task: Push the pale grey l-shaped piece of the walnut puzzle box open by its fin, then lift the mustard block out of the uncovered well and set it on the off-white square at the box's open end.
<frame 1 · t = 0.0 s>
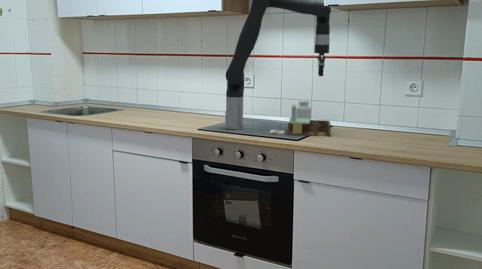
hand: (320, 75, 235), 29 cm above the worktop, tool pointing down, fingers open, 8 cm apart
pale grey l-shaped piece: (299, 113, 226), point 11 cm above the worktop, slide at 0.0 cm
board: (299, 135, 228), on the worktop
block: (297, 132, 228), point 1 cm above the worktop, touching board
pill bottle: (302, 129, 247), on the worktop
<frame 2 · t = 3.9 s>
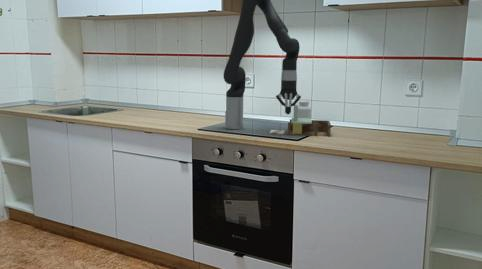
hand: (287, 114, 226), 11 cm above the worktop, tool pointing down, fingers closed
pale grey l-shaped piece: (301, 113, 226), point 11 cm above the worktop, slide at 1.0 cm, touching gripper
everything else where it was.
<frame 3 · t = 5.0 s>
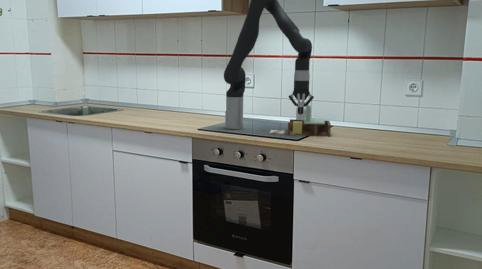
hand: (300, 114, 226), 11 cm above the worktop, tool pointing down, fingers closed
pale grey l-shaped piece: (314, 114, 225), point 11 cm above the worktop, slide at 7.2 cm, touching gripper
everything else where it was.
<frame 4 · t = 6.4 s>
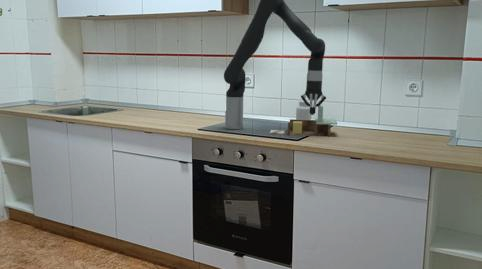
hand: (312, 114, 225), 11 cm above the worktop, tool pointing down, fingers closed
pale grey l-shaped piece: (326, 114, 224), point 11 cm above the worktop, slide at 13.1 cm, touching gripper
everything else where it was.
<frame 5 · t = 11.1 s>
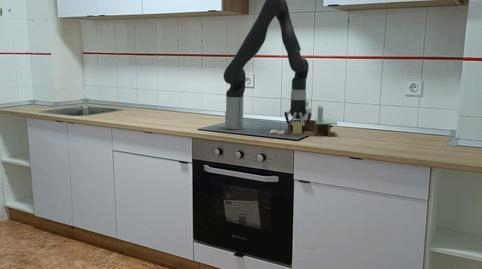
hand: (297, 132, 228), 2 cm above the worktop, tool pointing down, fingers closed on block, 4 cm apart
pale grey l-shaped piece: (326, 114, 224), point 11 cm above the worktop, slide at 13.0 cm
block: (297, 132, 228), point 1 cm above the worktop, touching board, gripper
everything else where it was.
when the fingers open (3 cm above the worktop, at t = 15.9 s): block drops 1 cm, resting on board.
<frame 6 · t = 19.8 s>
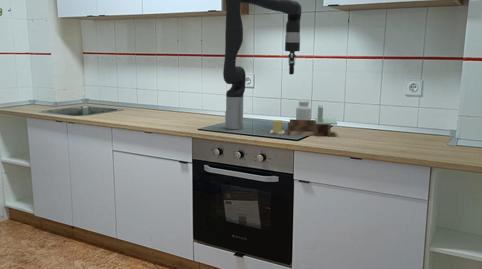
hand: (291, 73, 233), 30 cm above the worktop, tool pointing down, fingers open, 8 cm apart
block: (277, 131, 229), point 2 cm above the worktop, touching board
everything else where it was.
at the end: pale grey l-shaped piece slide at 13.0 cm; block inside the target area on the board (0.0 cm from its centre), point 1.6 cm above the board's base; block tilted 0° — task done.
